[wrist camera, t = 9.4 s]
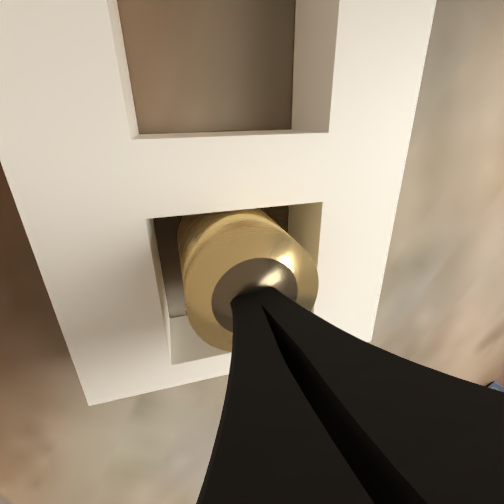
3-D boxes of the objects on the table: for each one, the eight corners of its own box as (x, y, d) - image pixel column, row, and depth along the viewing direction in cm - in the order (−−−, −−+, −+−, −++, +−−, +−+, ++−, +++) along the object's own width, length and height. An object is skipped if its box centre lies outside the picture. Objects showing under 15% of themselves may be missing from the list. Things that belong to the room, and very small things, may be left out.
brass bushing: (248, 176, 12) (297, 208, 8) (278, 254, 14) (331, 315, 10) (159, 217, 12) (157, 276, 7) (202, 291, 14) (221, 372, 9)
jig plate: (387, -101, 10) (472, -184, 7) (337, 305, 16) (371, 341, 14) (-56, -182, 7) (-193, -373, 4) (103, 350, 13) (88, 406, 11)
